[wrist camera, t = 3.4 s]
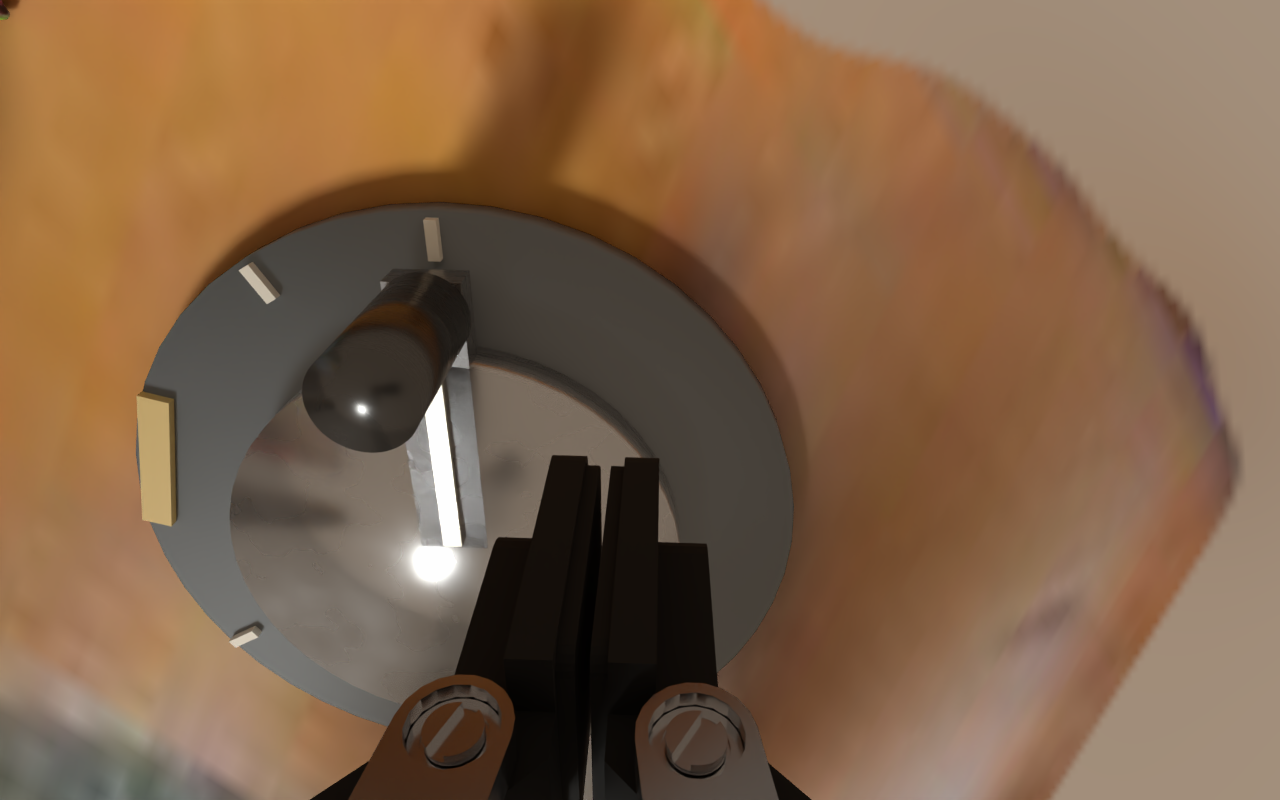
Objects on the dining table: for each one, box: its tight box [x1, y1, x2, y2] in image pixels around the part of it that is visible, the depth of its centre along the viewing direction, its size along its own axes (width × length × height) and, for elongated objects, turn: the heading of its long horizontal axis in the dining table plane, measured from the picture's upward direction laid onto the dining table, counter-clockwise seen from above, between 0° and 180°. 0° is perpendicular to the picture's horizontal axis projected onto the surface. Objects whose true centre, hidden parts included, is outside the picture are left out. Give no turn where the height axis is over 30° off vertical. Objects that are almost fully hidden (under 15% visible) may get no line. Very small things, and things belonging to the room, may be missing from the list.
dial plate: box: [136, 202, 794, 735], centre depth 27 cm, size 23×23×1 cm
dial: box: [229, 269, 680, 705], centre depth 23 cm, size 18×15×6 cm
